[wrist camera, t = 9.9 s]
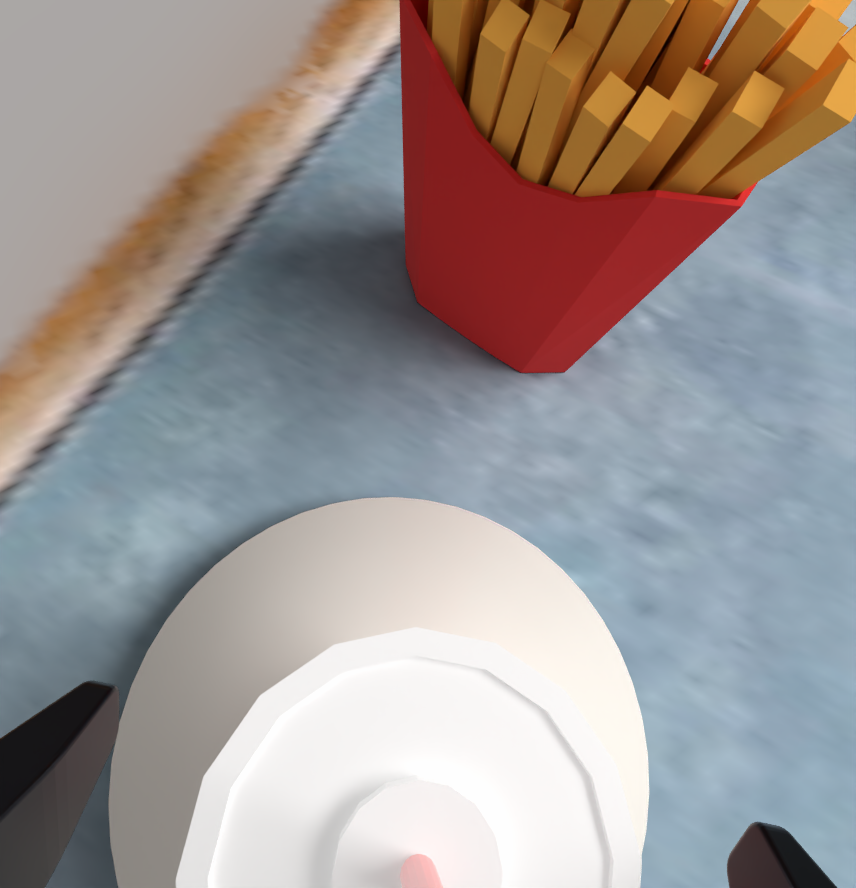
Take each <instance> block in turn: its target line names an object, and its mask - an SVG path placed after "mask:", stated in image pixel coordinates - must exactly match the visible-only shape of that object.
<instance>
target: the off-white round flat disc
mask: <svg viewBox="0 0 856 888" xmlns="http://www.w3.org/2000/svg"><path fill="white" fill-rule="evenodd" d="M414 627H418V628H423V629H428V630H433V631H438V632H443V633H448V634H453V635H458V636H463V637H468V638H473V639H478V640H483V641H488V642H493V643H497V644H498V645H499V646H501V647H502V648H504V649H505V650H507V651H508V652H510V653H511V654H513V655H514V656H516V657H517V658H519V659H520V660H522V661H523V662H524V663H526V664H527V665H529V666H530V667H532V668H533V669H535V670H536V671H538V672H539V673H541V674H542V675H544V676H545V677H546V678H548V679H549V680H551V681H552V682H554V683H555V684H557V685H558V686H560V687H561V688H563V689H564V690H566V692H567V693H568V695H569V696H570V698H571V699H572V701H573V702H574V704H575V705H576V706H577V708H578V709H579V711H580V712H581V714H582V715H583V717H584V718H585V720H586V721H587V722H588V724H589V725H590V727H591V728H592V730H593V731H594V733H595V734H596V736H597V737H598V738H599V740H600V741H601V743H602V744H603V746H604V747H605V749H606V750H607V752H608V753H609V754H610V756H611V757H612V759H613V760H614V762H615V763H616V765H617V768H618V772H619V775H620V779H621V783H622V787H623V790H624V794H625V798H626V802H627V805H628V809H629V813H630V817H631V820H632V824H633V828H634V832H635V835H636V839H637V843H638V847H639V850H640V854H641V855H642V850H643V845H644V839H645V834H646V827H647V814H648V801H649V773H648V753H647V746H646V740H645V733H644V726H643V720H642V716H641V712H640V708H639V705H638V701H637V697H636V693H635V690H634V686H633V683H632V680H631V678H630V675H629V673H628V670H627V668H626V665H625V663H624V660H623V658H622V655H621V653H620V651H619V649H618V647H617V645H616V643H615V641H614V639H613V638H612V636H611V634H610V632H609V630H608V628H607V627H606V625H605V623H604V621H603V620H602V618H601V617H600V615H599V614H598V612H597V611H596V610H595V608H594V607H593V605H592V604H591V603H590V601H589V600H588V598H587V597H586V595H585V594H584V593H583V592H582V591H581V590H580V588H579V587H578V586H577V585H576V584H575V583H574V582H573V581H572V580H571V578H570V577H569V576H568V575H567V574H566V573H565V572H564V571H563V570H562V569H561V568H560V567H559V566H558V565H557V564H556V563H554V562H553V561H552V560H551V559H550V558H549V557H548V556H546V555H545V554H544V553H543V552H542V551H541V550H539V549H538V548H537V547H535V546H534V545H532V544H531V543H529V542H528V541H526V540H525V539H524V538H522V537H521V536H519V535H518V534H516V533H515V532H513V531H511V530H509V529H507V528H506V527H504V526H502V525H500V524H498V523H496V522H494V521H492V520H490V519H488V518H486V517H483V516H481V515H478V514H475V513H472V512H469V511H467V510H464V509H461V508H458V507H455V506H451V505H446V504H442V503H437V502H433V501H428V500H421V499H409V498H398V497H386V498H363V499H357V500H351V501H345V502H339V503H333V504H329V505H326V506H323V507H319V508H316V509H313V510H310V511H306V512H303V513H300V514H298V515H296V516H293V517H291V518H289V519H287V520H284V521H282V522H280V523H278V524H275V525H273V526H271V527H269V528H268V529H266V530H264V531H263V532H261V533H259V534H258V535H256V536H254V537H253V538H251V539H249V540H248V541H246V542H244V543H243V544H241V545H240V546H239V547H237V548H236V549H235V550H234V551H232V552H231V553H230V554H228V555H227V556H226V557H225V558H223V559H222V560H221V561H220V562H218V563H217V564H216V565H215V566H214V567H213V568H212V569H211V570H210V571H209V572H208V573H207V574H206V575H205V576H203V577H202V578H201V579H200V580H199V581H198V582H197V583H196V584H195V585H194V586H193V587H192V588H191V589H190V591H189V592H188V593H187V594H186V596H185V597H184V598H183V599H182V601H181V602H180V603H179V604H178V606H177V607H176V608H175V609H174V611H173V612H172V613H171V615H170V616H169V617H168V618H167V620H166V622H165V623H164V625H163V626H162V628H161V630H160V631H159V633H158V635H157V636H156V638H155V639H154V641H153V643H152V644H151V646H150V648H149V649H148V651H147V653H146V655H145V657H144V660H143V662H142V664H141V666H140V668H139V670H138V672H137V675H136V677H135V679H134V681H133V683H132V685H131V689H130V692H129V695H128V698H127V701H126V704H125V707H124V710H123V713H122V716H121V719H120V722H119V729H118V734H117V737H116V742H115V747H114V752H113V757H112V762H111V775H110V788H109V801H108V805H109V825H110V845H111V850H112V856H113V861H114V867H115V873H116V878H117V884H118V888H176V876H177V873H178V869H179V865H180V862H181V858H182V854H183V850H184V847H185V843H186V839H187V836H188V832H189V828H190V825H191V821H192V817H193V813H194V810H195V806H196V802H197V799H198V795H199V791H200V787H201V784H202V780H203V776H204V775H205V774H206V772H207V771H208V769H209V768H210V766H211V765H212V764H213V762H214V761H215V759H216V758H217V756H218V755H219V753H220V752H221V751H222V749H223V748H224V746H225V745H226V743H227V742H228V741H229V739H230V738H231V736H232V735H233V733H234V732H235V730H236V729H237V728H238V726H239V725H240V723H241V722H242V720H243V719H244V717H245V716H246V715H247V713H248V712H249V710H250V709H251V707H252V706H253V705H254V703H255V702H256V700H257V699H258V697H259V696H260V695H261V694H263V693H264V692H266V691H267V690H268V689H270V688H271V687H273V686H274V685H276V684H277V683H279V682H280V681H282V680H283V679H284V678H286V677H287V676H289V675H290V674H292V673H293V672H295V671H296V670H298V669H299V668H301V667H302V666H303V665H305V664H306V663H308V662H309V661H311V660H312V659H314V658H315V657H317V656H318V655H319V654H321V653H322V652H324V651H325V650H327V649H328V648H330V647H331V646H333V645H334V644H339V643H343V642H348V641H353V640H357V639H362V638H367V637H371V636H376V635H381V634H385V633H390V632H395V631H399V630H404V629H409V628H414Z"/></svg>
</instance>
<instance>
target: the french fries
mask: <svg viewBox="0 0 856 888" xmlns="http://www.w3.org/2000/svg"><path fill="white" fill-rule="evenodd" d="M851 1H852V0H750V1H749V2H748V4H747V6H746V7H745V9H744V10H743V12H742V14H741V15H740V17H739V18H738V20H737V22H736V23H735V25H734V26H733V28H732V30H731V31H730V33H729V34H728V36H727V38H726V39H725V41H724V42H723V44H722V46H721V47H720V49H719V50H718V52H717V53H716V54H715V55H714V57H713V58H712V59H711V61H710V60H709V59H707V58H708V56H709V54H710V52H711V50H712V48H713V47H714V45H715V43H716V41H717V39H718V37H719V35H720V34H721V32H722V30H723V28H724V26H725V24H726V23H727V21H728V19H729V17H730V15H731V13H732V11H733V10H734V8H735V6H736V4H737V2H738V0H400V38H401V81H402V124H403V166H404V209H405V252H406V267H407V270H408V273H409V277H410V280H411V283H412V286H413V290H414V293H415V296H416V299H417V302H418V303H419V304H420V305H422V306H423V307H424V308H426V309H427V310H428V311H430V312H431V313H432V314H434V315H435V316H436V317H438V318H439V319H440V320H442V321H443V322H444V323H446V324H447V325H449V326H450V327H452V328H453V329H454V330H456V331H457V332H459V333H460V334H461V335H463V336H464V337H466V338H467V339H469V340H470V341H472V342H473V343H475V344H476V345H478V346H479V347H481V348H482V349H484V350H485V351H487V352H488V353H490V354H491V355H493V356H494V357H496V358H497V359H499V360H501V361H502V362H504V363H506V364H507V365H509V366H510V367H512V368H514V369H515V370H517V371H519V372H520V373H549V372H565V371H567V370H568V369H569V368H570V367H571V366H572V365H573V364H574V363H575V362H576V361H577V360H578V359H579V358H580V357H581V356H583V355H584V354H585V353H586V352H587V351H588V350H589V349H590V348H591V347H592V346H593V345H594V344H595V343H596V342H597V341H599V340H600V339H601V338H602V337H603V336H604V335H605V334H606V333H607V332H608V331H609V330H610V329H611V328H612V327H613V326H615V325H616V324H617V323H618V322H619V321H620V320H621V319H622V318H623V317H624V316H625V315H626V314H627V313H628V312H629V311H631V310H632V309H633V308H634V307H635V306H636V305H637V304H638V303H639V302H640V301H641V300H642V299H643V298H644V297H645V296H647V295H648V294H649V293H650V292H651V291H652V290H653V289H654V288H655V287H656V286H657V285H658V284H659V283H660V282H661V281H663V280H664V279H665V278H666V277H667V276H668V275H669V274H670V273H671V272H672V271H673V270H674V269H675V268H676V267H677V266H679V265H680V264H681V263H682V262H683V261H684V260H685V259H686V258H687V257H688V256H689V255H690V254H691V253H692V252H693V251H695V250H696V249H697V248H698V247H699V246H700V245H701V244H702V243H703V242H704V241H705V240H706V239H707V238H708V237H709V236H711V235H712V234H713V233H714V232H715V231H716V230H717V229H718V228H719V227H720V226H721V225H722V224H723V223H724V222H725V221H727V220H728V219H729V218H730V217H731V216H732V215H733V214H734V213H735V212H736V211H737V210H738V209H739V208H740V207H741V206H742V205H743V203H744V202H745V200H746V199H747V197H748V196H749V194H750V193H751V191H752V190H753V188H754V187H755V185H756V184H757V182H758V181H760V180H761V179H763V178H764V177H766V176H767V175H769V174H771V173H772V172H774V171H775V170H777V169H778V168H780V167H782V166H783V165H785V164H786V163H788V162H789V161H791V160H793V159H794V158H796V157H797V156H799V155H800V154H802V153H803V152H805V151H807V150H808V149H810V148H811V147H813V146H814V145H816V144H817V143H819V142H821V141H822V140H824V139H825V138H827V137H828V136H830V135H831V134H833V133H835V132H836V131H838V130H839V129H841V128H842V127H844V126H845V125H847V124H849V123H850V122H851V121H852V119H853V117H854V116H855V114H856V25H855V26H854V27H853V28H851V29H850V30H849V31H848V32H847V33H846V34H845V35H844V36H842V35H843V34H844V33H845V31H846V30H847V29H848V27H847V26H845V25H844V24H842V23H841V22H839V21H838V19H839V18H840V16H841V15H842V14H843V12H844V11H845V9H846V8H847V7H848V5H849V4H850V2H851Z"/></svg>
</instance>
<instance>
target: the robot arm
mask: <svg viewBox="0 0 856 888" xmlns="http://www.w3.org/2000/svg"><path fill="white" fill-rule="evenodd" d="M118 729H119V690H118V688H117V687H116V686H115V685H112V684H107V683H102V682H97V681H87V682H84V683H82V684H80V685H79V686H77V687H76V688H74V689H73V690H71V691H70V692H69V693H67V694H66V695H64V696H63V697H61V698H60V699H58V700H57V701H55V702H54V703H52V704H51V705H49V706H48V707H46V708H45V709H43V710H42V711H40V712H39V713H37V714H36V715H34V716H33V717H31V718H30V719H28V720H27V721H25V722H24V723H23V724H21V725H20V726H18V727H17V728H15V729H14V730H12V731H11V732H9V733H8V734H6V735H5V736H3V737H2V738H0V888H44V887H45V886H46V884H47V882H48V881H49V879H50V877H51V875H52V873H53V872H54V870H55V868H56V866H57V864H58V863H59V861H60V859H61V857H62V855H63V853H64V851H65V849H66V847H67V844H68V842H69V840H70V838H71V836H72V834H73V832H74V830H75V827H76V825H77V823H78V821H79V819H80V817H81V814H82V812H83V810H84V808H85V806H86V804H87V801H88V799H89V797H90V795H91V793H92V791H93V789H94V786H95V784H96V782H97V780H98V778H99V776H100V773H101V771H102V769H103V767H104V765H105V763H106V760H107V758H108V756H109V754H110V752H111V750H112V747H113V745H114V743H115V740H116V737H117V734H118ZM727 875H728V882H729V888H837V887H836V886H835V885H834V883H833V882H832V881H831V880H830V879H829V878H828V876H827V875H826V874H825V873H824V872H823V871H822V870H821V868H820V867H819V866H818V865H817V864H816V863H815V862H814V860H813V859H812V858H811V857H810V856H809V855H808V853H807V852H806V851H805V850H804V849H803V848H802V847H801V845H800V844H799V843H798V842H797V841H796V840H795V838H794V837H793V836H792V835H791V834H790V833H789V832H788V831H787V830H785V829H784V828H782V827H779V826H776V825H771V824H767V823H762V822H754V823H752V824H751V825H750V826H749V827H748V828H747V830H746V831H745V832H744V834H743V835H742V837H741V838H740V840H739V841H738V843H737V844H736V845H735V847H734V848H733V850H732V851H731V853H730V855H729V858H728V863H727Z"/></svg>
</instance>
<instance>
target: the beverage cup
mask: <svg viewBox="0 0 856 888" xmlns="http://www.w3.org/2000/svg"><path fill="white" fill-rule="evenodd" d="M641 867H642V858H641V854H640V850H639V847H638V843H637V839H636V835H635V832H634V828H633V824H632V820H631V817H630V813H629V809H628V805H627V802H626V798H625V794H624V790H623V787H622V783H621V779H620V775H619V772H618V768H617V765H616V763H615V762H614V760H613V759H612V757H611V756H610V754H609V753H608V752H607V750H606V749H605V747H604V746H603V744H602V743H601V741H600V740H599V738H598V737H597V736H596V734H595V733H594V731H593V730H592V728H591V727H590V725H589V724H588V722H587V721H586V720H585V718H584V717H583V715H582V714H581V712H580V711H579V709H578V708H577V706H576V705H575V704H574V702H573V701H572V699H571V698H570V696H569V695H568V693H567V692H566V690H564V689H563V688H561V687H560V686H558V685H557V684H555V683H554V682H552V681H551V680H549V679H548V678H546V677H545V676H544V675H542V674H541V673H539V672H538V671H536V670H535V669H533V668H532V667H530V666H529V665H527V664H526V663H524V662H523V661H522V660H520V659H519V658H517V657H516V656H514V655H513V654H511V653H510V652H508V651H507V650H505V649H504V648H502V647H501V646H499V645H498V644H497V643H493V642H488V641H483V640H478V639H473V638H468V637H463V636H458V635H453V634H448V633H443V632H438V631H433V630H428V629H423V628H418V627H414V628H409V629H404V630H399V631H395V632H390V633H385V634H381V635H376V636H371V637H367V638H362V639H357V640H353V641H348V642H343V643H339V644H334V645H333V646H331V647H330V648H328V649H327V650H325V651H324V652H322V653H321V654H319V655H318V656H317V657H315V658H314V659H312V660H311V661H309V662H308V663H306V664H305V665H303V666H302V667H301V668H299V669H298V670H296V671H295V672H293V673H292V674H290V675H289V676H287V677H286V678H284V679H283V680H282V681H280V682H279V683H277V684H276V685H274V686H273V687H271V688H270V689H268V690H267V691H266V692H264V693H263V694H261V695H260V696H259V697H258V699H257V700H256V702H255V703H254V705H253V706H252V707H251V709H250V710H249V712H248V713H247V715H246V716H245V717H244V719H243V720H242V722H241V723H240V725H239V726H238V728H237V729H236V730H235V732H234V733H233V735H232V736H231V738H230V739H229V741H228V742H227V743H226V745H225V746H224V748H223V749H222V751H221V752H220V753H219V755H218V756H217V758H216V759H215V761H214V762H213V764H212V765H211V766H210V768H209V769H208V771H207V772H206V774H205V775H204V776H203V780H202V784H201V787H200V791H199V795H198V799H197V802H196V806H195V810H194V813H193V817H192V821H191V825H190V828H189V832H188V836H187V839H186V843H185V847H184V850H183V854H182V858H181V862H180V865H179V869H178V873H177V876H176V888H640V882H641Z"/></svg>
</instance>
